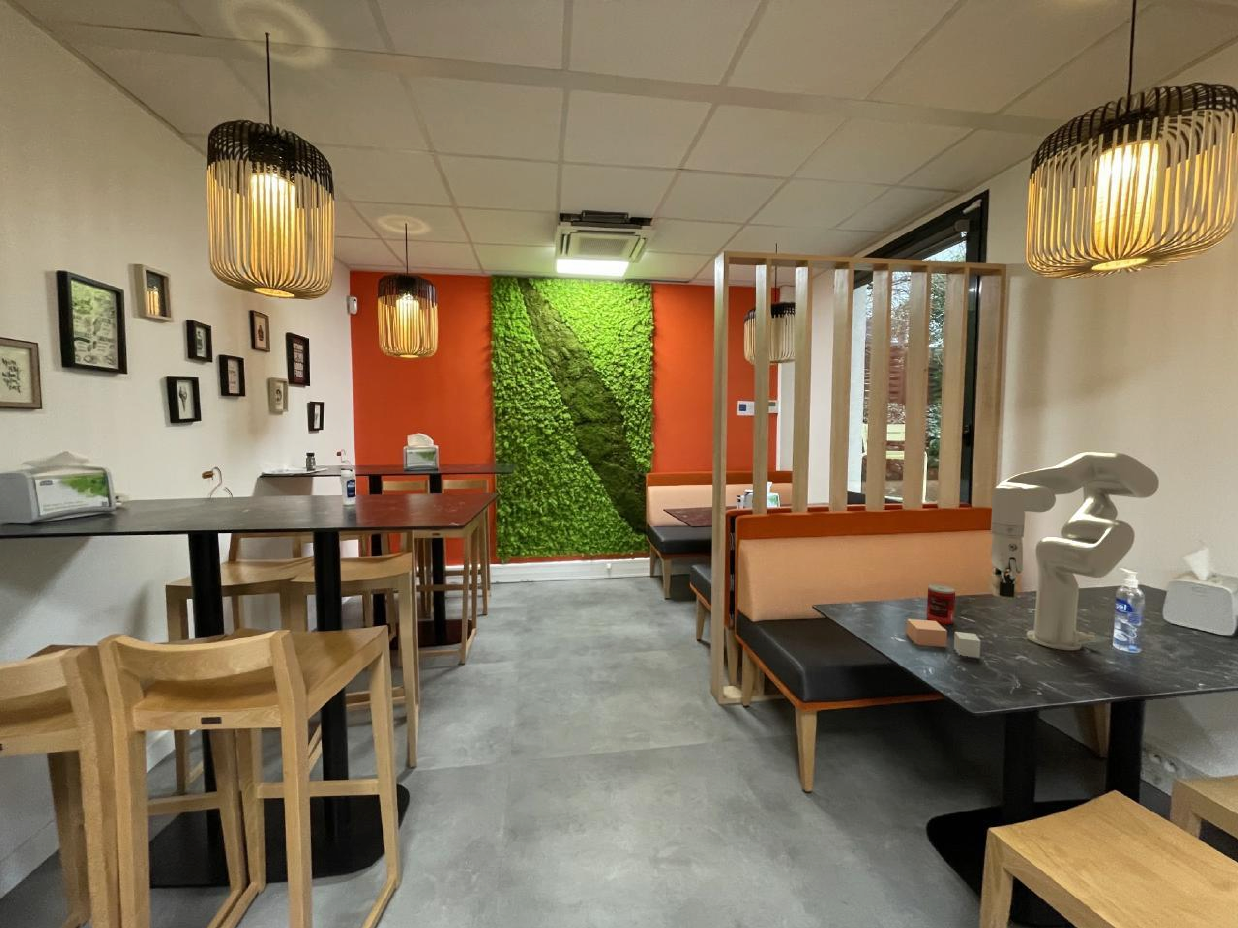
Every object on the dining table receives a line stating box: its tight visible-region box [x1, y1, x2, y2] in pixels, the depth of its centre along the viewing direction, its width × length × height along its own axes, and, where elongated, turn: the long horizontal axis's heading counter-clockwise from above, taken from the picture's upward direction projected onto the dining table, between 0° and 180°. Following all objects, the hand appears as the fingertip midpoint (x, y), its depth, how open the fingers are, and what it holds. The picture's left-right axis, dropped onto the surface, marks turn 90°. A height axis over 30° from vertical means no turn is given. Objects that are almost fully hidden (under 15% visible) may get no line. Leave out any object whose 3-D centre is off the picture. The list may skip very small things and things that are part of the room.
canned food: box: [926, 583, 956, 625], centre depth 174 cm, size 8×8×11 cm
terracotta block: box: [906, 618, 948, 648], centre depth 158 cm, size 8×8×5 cm
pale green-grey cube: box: [953, 631, 981, 659], centre depth 149 cm, size 5×5×5 cm
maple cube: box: [988, 573, 1019, 599], centre depth 149 cm, size 5×5×5 cm
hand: (1002, 592), depth 149 cm, fingers closed on maple cube, 5 cm apart
